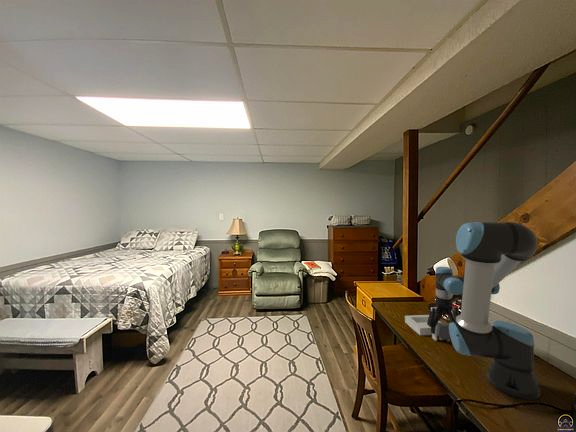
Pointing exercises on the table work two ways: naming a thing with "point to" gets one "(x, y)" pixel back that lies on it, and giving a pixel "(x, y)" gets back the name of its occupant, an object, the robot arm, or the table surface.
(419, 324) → the socket plate
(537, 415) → the table surface
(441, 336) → the plug
